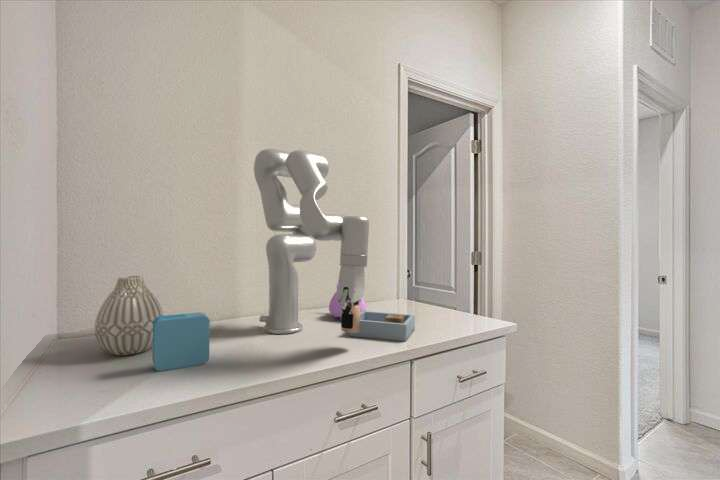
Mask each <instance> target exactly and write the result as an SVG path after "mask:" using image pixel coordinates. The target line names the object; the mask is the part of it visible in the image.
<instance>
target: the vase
mask: <svg viewBox="0 0 720 480" xmlns="http://www.w3.org/2000/svg"><path fill="white" fill-rule="evenodd" d="M159 316H165V315H164V313H163V309H162V307H161V304H160V301H158V299H157V298H156V297H155V295H154V293H152V291H151V290H150V289H149V288H148V287H147V285H146V283H145V280H144V277H143V276H142V275H123V276H119V277H118V278H117V281H116V284H115V286H114V288H113V289H112V291H111V292H110V293H109V295H108V296H107V297H106V298H105V300H104V301H103V303H102V304H101V306H100V308H99V310H98V312H97V314H96V317H95V322H94V334H95V338H96V340H97V342H98V343H99V344H98V345H100V346H101V347H102V349H104V350H105V351H106V352H108V353H109V354H111V355H114V356H130V355H131V356H132V355H136V354H137V355H138V354H141V353H144V352H147V351H148V350H149V349H151V348H153V321H154V319H155V318H157V317H159Z"/></svg>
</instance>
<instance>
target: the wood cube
mask: <svg viewBox="0 0 720 480" xmlns="http://www.w3.org/2000/svg"><path fill="white" fill-rule="evenodd" d="M385 322H391V323H402V324H403V323H404V315H392V314H389V315H388V316H387V317H385Z"/></svg>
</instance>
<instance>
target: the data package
mask: <svg viewBox="0 0 720 480" xmlns="http://www.w3.org/2000/svg"><path fill="white" fill-rule="evenodd" d="M210 324H211V323H210V319H209V317H208V316H207V314H205V312H204V313H203V312H200V311H199V312H189V313H181V314H179V313H178V314H169V315H168V314H166V315H164V316H159V317H157V318H155V319H154V321H153V346H152V363H153V367H154V369H155V370H156V371H158V372H164V371H171V370H177V369H178V370H179V369H183V368H189V367H195V366H199V365H201V366H202V365H205V364H206V363H207V362H208V361H209V360H210Z"/></svg>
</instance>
